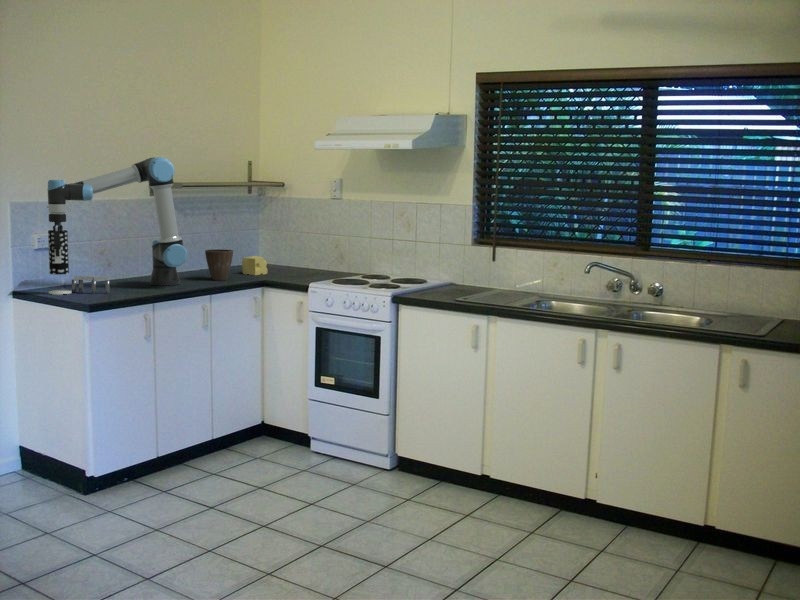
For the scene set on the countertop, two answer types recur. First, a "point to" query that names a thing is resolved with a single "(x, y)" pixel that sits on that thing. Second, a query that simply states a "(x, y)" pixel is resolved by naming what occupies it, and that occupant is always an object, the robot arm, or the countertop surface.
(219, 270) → the plant pot
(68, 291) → the coaster
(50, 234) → the spotted tube
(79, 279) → the small grey table
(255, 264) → the cheese
